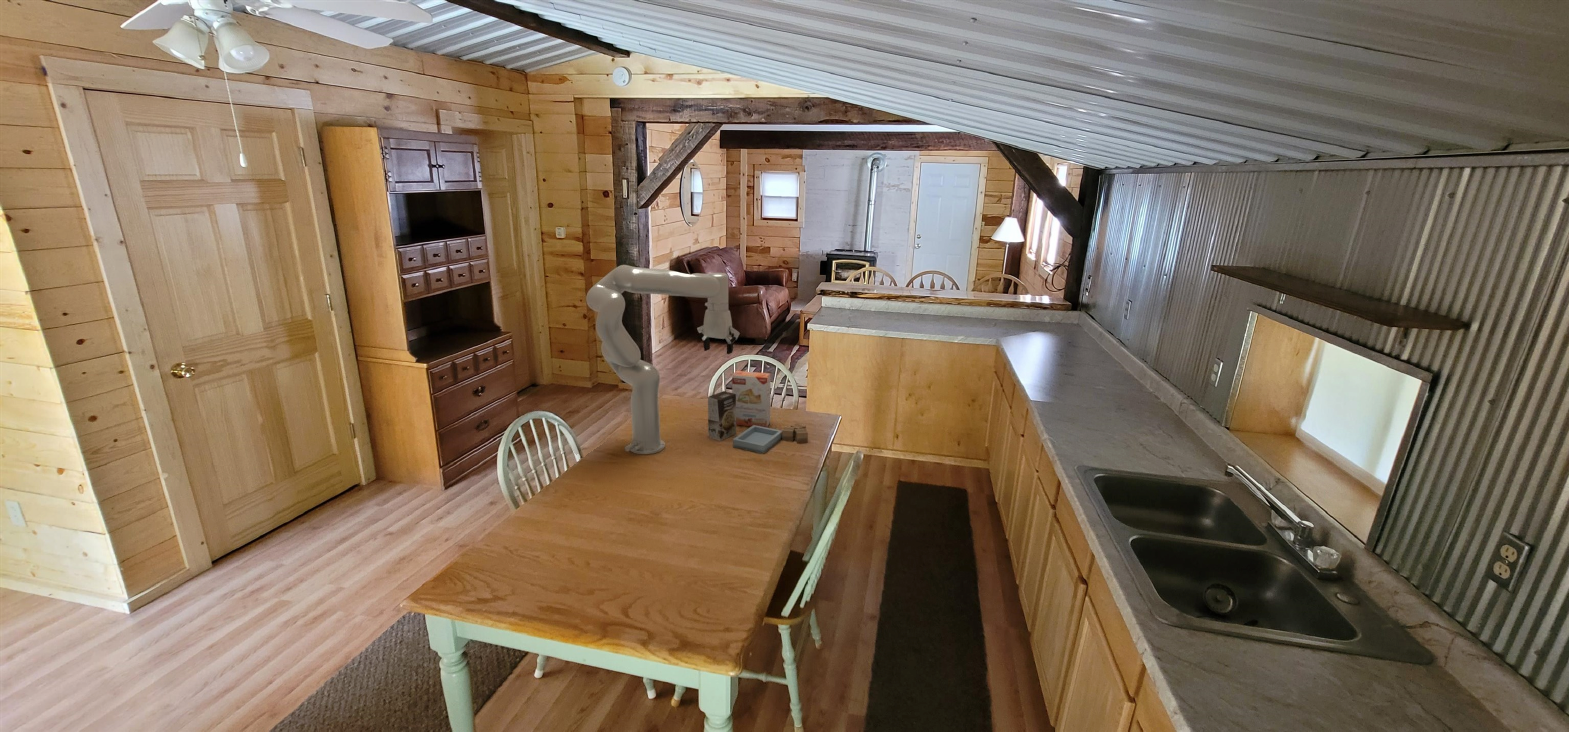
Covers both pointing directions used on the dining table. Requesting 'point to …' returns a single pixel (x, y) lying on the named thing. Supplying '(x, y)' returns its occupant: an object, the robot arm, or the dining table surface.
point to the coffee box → (722, 415)
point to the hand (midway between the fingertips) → (718, 351)
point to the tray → (757, 439)
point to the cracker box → (752, 398)
